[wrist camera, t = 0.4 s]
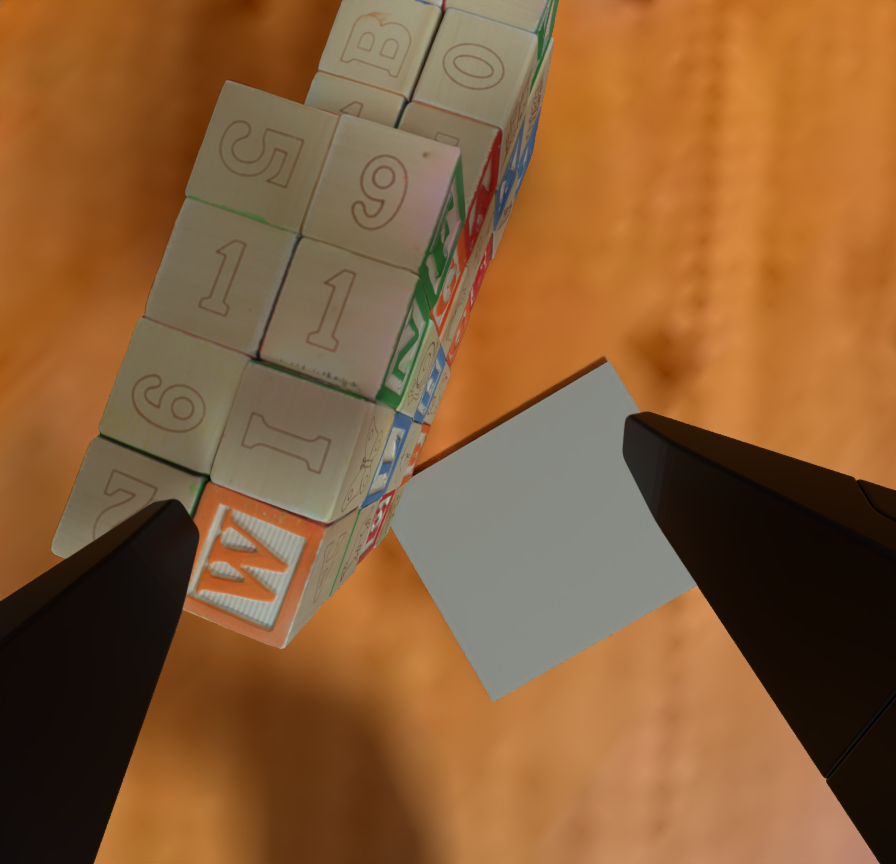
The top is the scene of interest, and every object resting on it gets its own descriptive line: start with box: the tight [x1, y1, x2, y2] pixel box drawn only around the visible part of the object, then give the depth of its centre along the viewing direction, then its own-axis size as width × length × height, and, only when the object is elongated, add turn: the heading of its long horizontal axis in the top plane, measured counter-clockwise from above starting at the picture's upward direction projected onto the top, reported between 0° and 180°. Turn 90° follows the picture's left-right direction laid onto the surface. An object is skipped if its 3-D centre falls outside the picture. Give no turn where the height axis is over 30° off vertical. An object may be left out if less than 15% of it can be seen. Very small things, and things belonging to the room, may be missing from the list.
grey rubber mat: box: [391, 361, 697, 702], centre depth 22 cm, size 12×14×1 cm
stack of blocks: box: [51, 0, 559, 649], centre depth 16 cm, size 21×6×12 cm, turn 159°
